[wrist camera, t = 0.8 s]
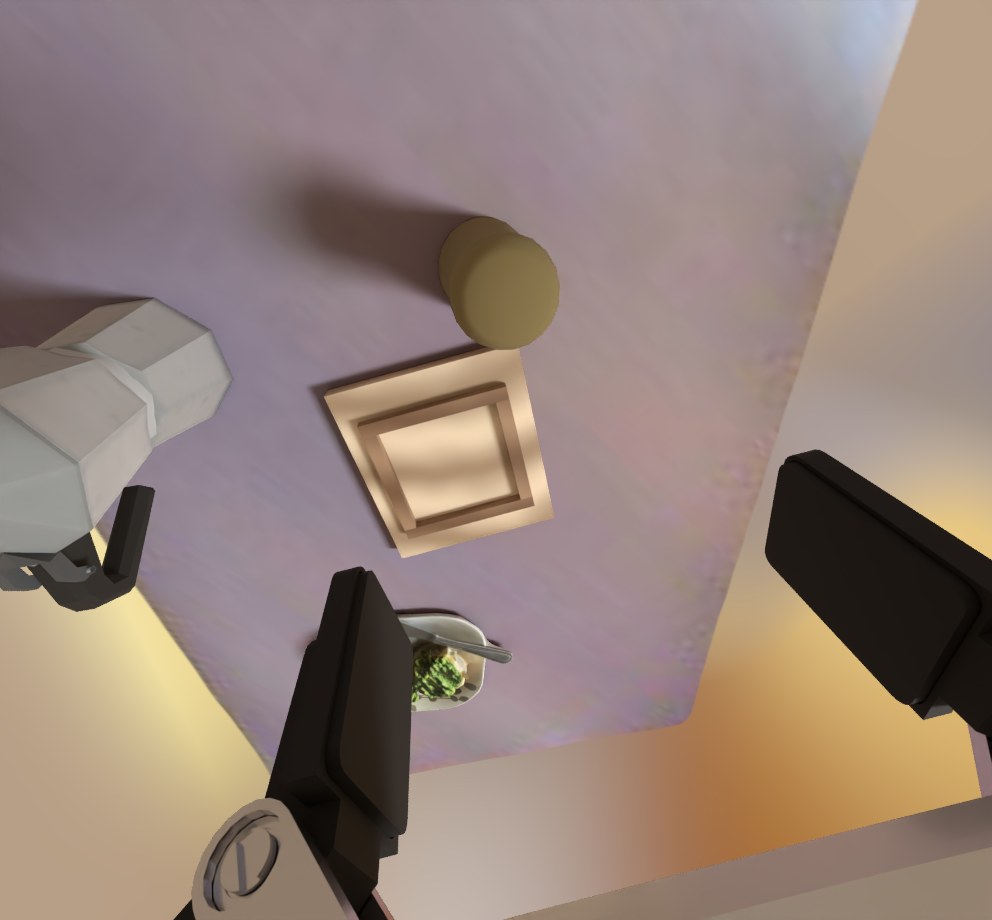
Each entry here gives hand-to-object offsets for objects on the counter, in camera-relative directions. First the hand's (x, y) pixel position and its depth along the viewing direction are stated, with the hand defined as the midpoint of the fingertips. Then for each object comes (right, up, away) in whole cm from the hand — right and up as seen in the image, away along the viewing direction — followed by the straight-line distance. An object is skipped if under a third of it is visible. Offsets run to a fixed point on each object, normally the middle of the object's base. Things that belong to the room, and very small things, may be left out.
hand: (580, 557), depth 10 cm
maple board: (-5, +3, +25) cm, 26 cm away
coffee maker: (-24, +8, +20) cm, 32 cm away
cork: (-3, +15, +18) cm, 24 cm away
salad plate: (-12, -19, +38) cm, 44 cm away
